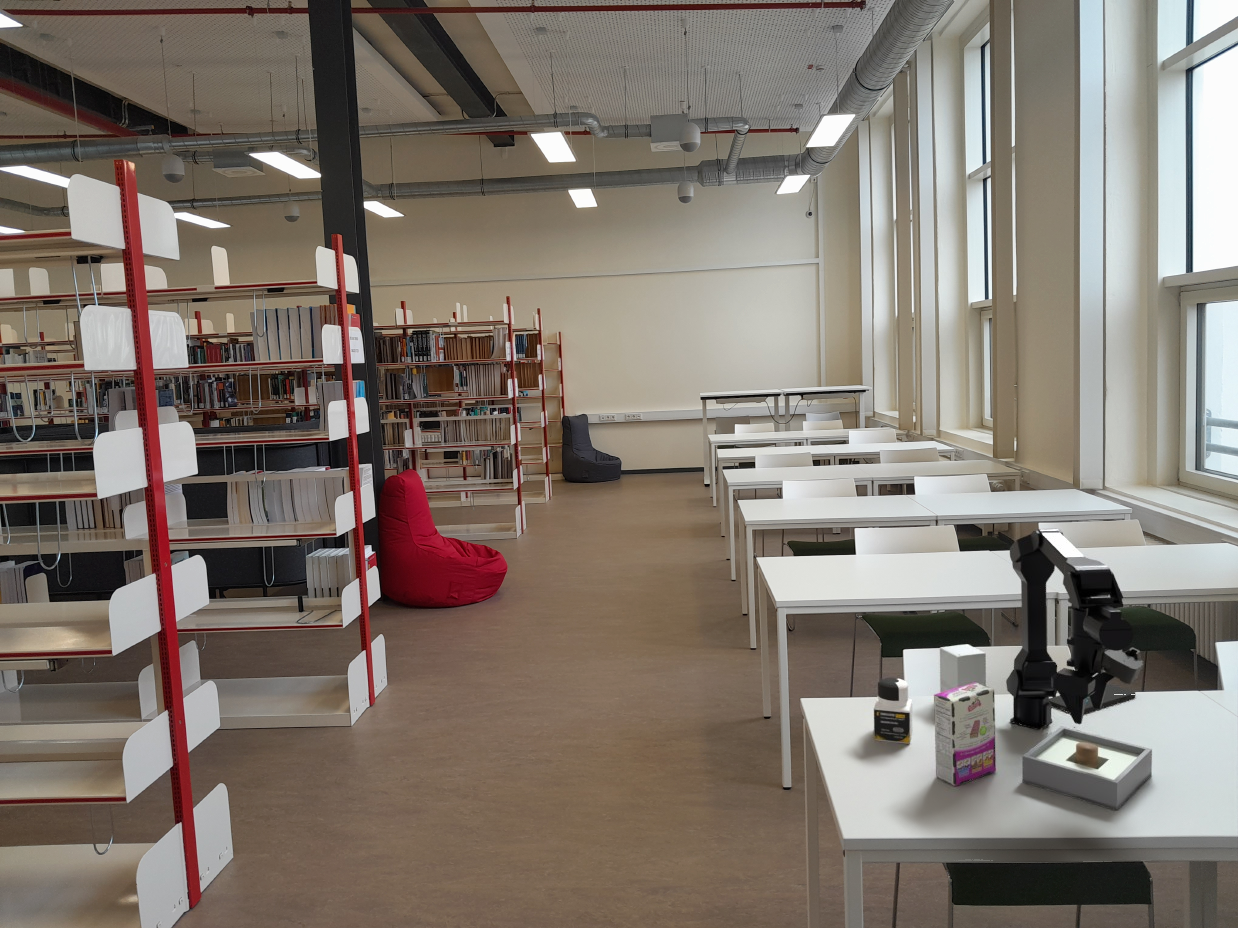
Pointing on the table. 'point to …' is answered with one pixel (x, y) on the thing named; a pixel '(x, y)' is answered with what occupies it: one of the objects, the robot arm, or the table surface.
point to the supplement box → (961, 666)
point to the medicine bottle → (893, 712)
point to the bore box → (1087, 768)
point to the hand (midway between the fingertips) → (1087, 715)
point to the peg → (1087, 755)
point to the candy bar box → (965, 733)
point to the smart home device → (1107, 701)
